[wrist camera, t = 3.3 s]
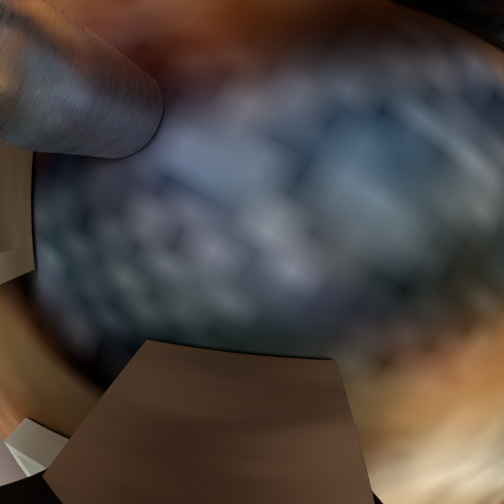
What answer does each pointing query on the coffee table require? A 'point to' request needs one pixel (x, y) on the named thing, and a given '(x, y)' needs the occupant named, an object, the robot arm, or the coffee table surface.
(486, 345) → the coffee table surface
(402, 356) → the coffee table surface
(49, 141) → the cylinder
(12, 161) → the beige square frame
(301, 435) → the walnut block
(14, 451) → the tray
